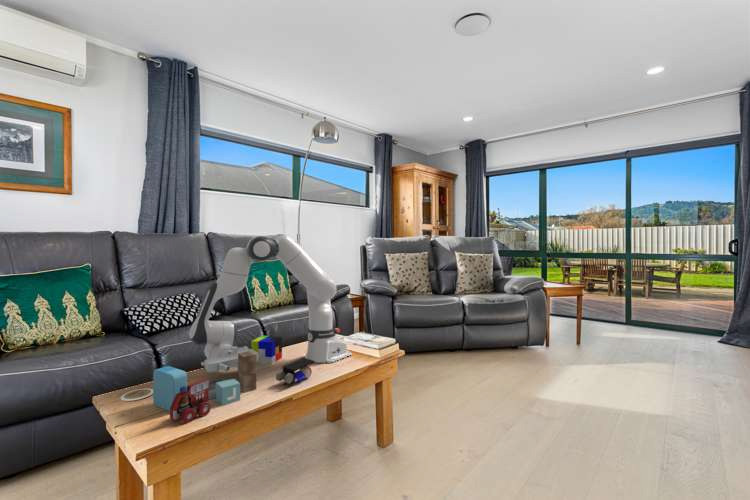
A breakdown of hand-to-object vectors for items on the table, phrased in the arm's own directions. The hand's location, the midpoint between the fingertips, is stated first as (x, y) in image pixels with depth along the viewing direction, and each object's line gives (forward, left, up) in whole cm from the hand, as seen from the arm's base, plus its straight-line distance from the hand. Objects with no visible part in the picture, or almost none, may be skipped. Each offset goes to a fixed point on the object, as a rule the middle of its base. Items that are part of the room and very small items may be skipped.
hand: (240, 365), depth 141 cm
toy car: (-17, +13, -7) cm, 22 cm away
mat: (+9, 0, -7) cm, 11 cm away
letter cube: (+9, +12, -7) cm, 16 cm away
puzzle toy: (-21, -19, -7) cm, 30 cm away
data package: (+25, +4, -7) cm, 26 cm away
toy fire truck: (+22, +16, -7) cm, 28 cm away
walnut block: (0, +7, -7) cm, 10 cm away
